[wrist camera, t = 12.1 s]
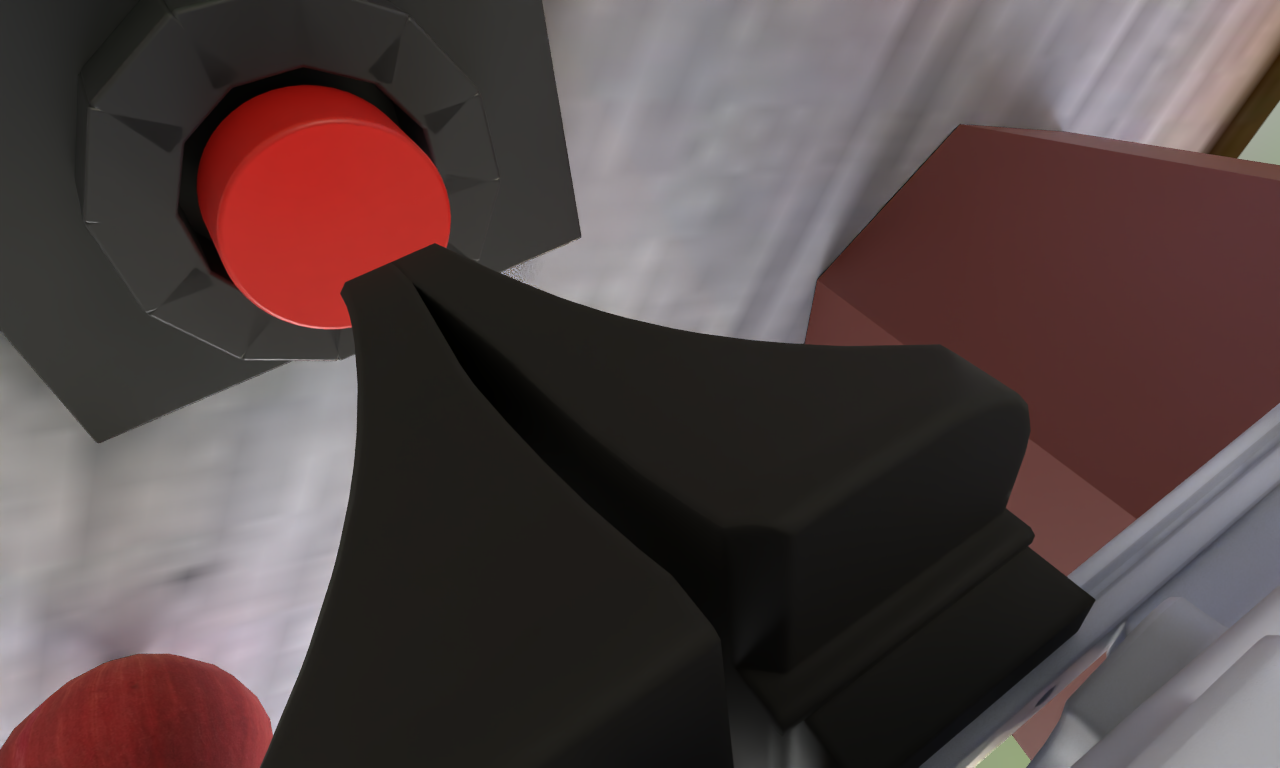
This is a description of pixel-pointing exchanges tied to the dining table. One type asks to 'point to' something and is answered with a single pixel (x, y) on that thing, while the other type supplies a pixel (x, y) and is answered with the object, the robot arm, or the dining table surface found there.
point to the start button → (315, 199)
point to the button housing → (169, 160)
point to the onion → (144, 719)
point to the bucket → (1081, 314)
